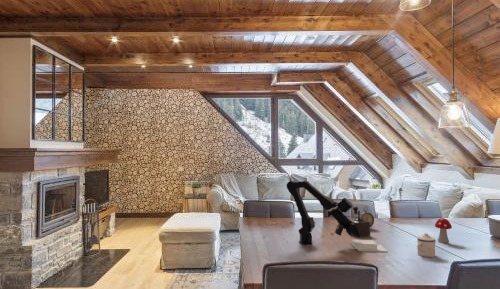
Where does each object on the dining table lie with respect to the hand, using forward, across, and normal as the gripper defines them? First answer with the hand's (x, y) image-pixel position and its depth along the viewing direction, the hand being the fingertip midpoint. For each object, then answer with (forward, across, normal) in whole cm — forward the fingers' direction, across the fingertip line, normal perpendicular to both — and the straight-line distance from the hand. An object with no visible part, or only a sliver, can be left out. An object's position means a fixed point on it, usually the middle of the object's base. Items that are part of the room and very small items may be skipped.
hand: (359, 236), depth 212 cm
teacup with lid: (+28, +11, +18) cm, 35 cm away
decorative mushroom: (+44, -21, +34) cm, 59 cm away
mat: (+9, 0, 0) cm, 9 cm away
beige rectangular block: (+1, 0, -5) cm, 5 cm away
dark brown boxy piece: (+9, -37, -1) cm, 38 cm away
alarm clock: (+16, -56, +6) cm, 59 cm away
